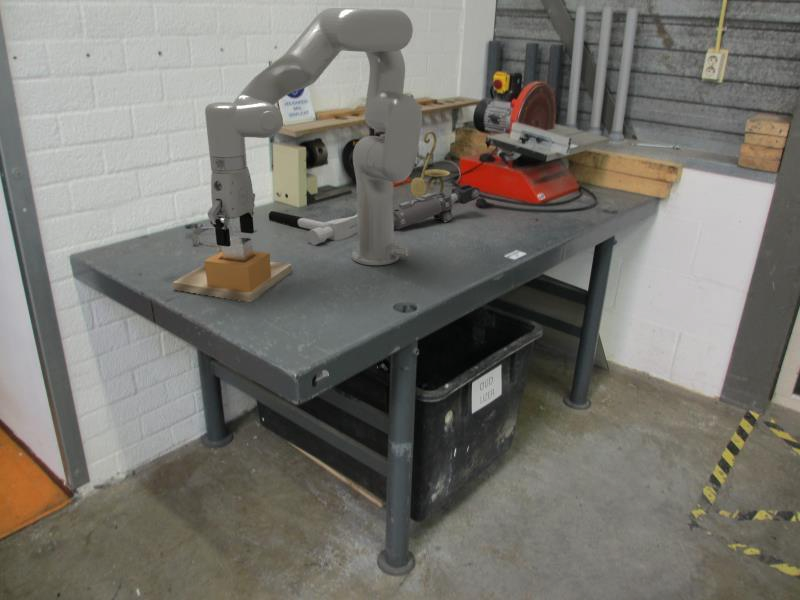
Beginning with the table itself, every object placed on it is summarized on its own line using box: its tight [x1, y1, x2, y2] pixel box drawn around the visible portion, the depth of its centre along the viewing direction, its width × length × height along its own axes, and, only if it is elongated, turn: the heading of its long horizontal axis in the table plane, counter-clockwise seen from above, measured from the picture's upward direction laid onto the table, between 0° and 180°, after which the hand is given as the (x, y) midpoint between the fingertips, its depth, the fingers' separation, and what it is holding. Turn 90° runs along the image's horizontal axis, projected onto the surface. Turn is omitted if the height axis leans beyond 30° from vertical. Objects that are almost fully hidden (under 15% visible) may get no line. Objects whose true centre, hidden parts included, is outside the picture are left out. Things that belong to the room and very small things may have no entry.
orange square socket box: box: [172, 218, 293, 303], centre depth 150 cm, size 21×21×14 cm
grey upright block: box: [221, 236, 254, 263], centre depth 144 cm, size 6×4×10 cm
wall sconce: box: [410, 130, 451, 198], centre depth 213 cm, size 14×10×25 cm
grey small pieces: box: [191, 223, 258, 247], centre depth 180 cm, size 20×1×6 cm, turn 136°
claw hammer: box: [268, 210, 357, 246], centre depth 191 cm, size 5×22×30 cm
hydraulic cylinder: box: [394, 184, 481, 230], centre depth 196 cm, size 7×37×10 cm, turn 125°
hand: (235, 238), depth 142 cm, fingers open, 9 cm apart
